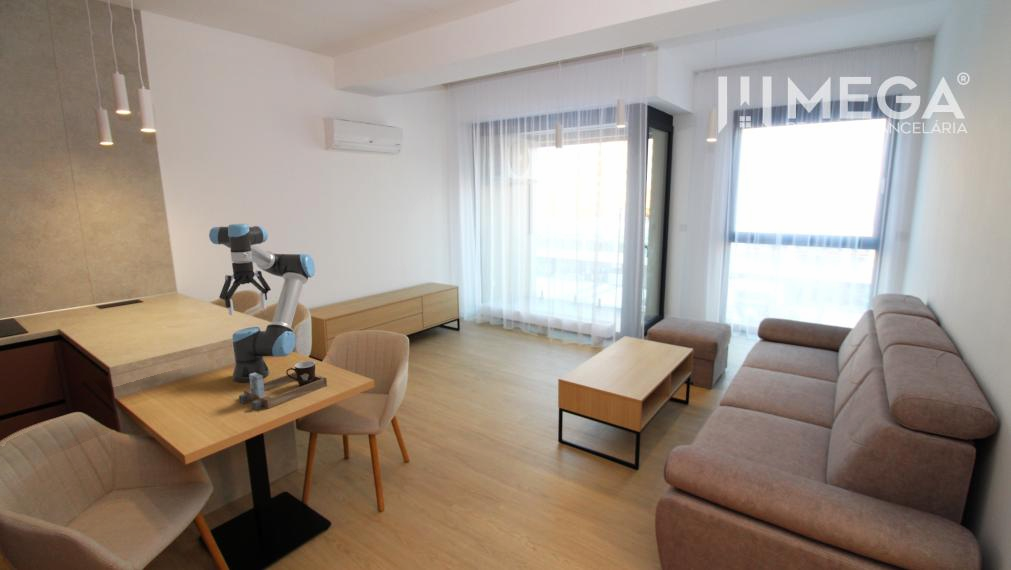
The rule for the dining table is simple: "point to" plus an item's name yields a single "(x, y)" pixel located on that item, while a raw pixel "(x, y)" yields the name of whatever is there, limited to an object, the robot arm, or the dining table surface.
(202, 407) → the dining table surface
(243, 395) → the block
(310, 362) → the coffee mug
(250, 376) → the brown frame
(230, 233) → the robot arm
